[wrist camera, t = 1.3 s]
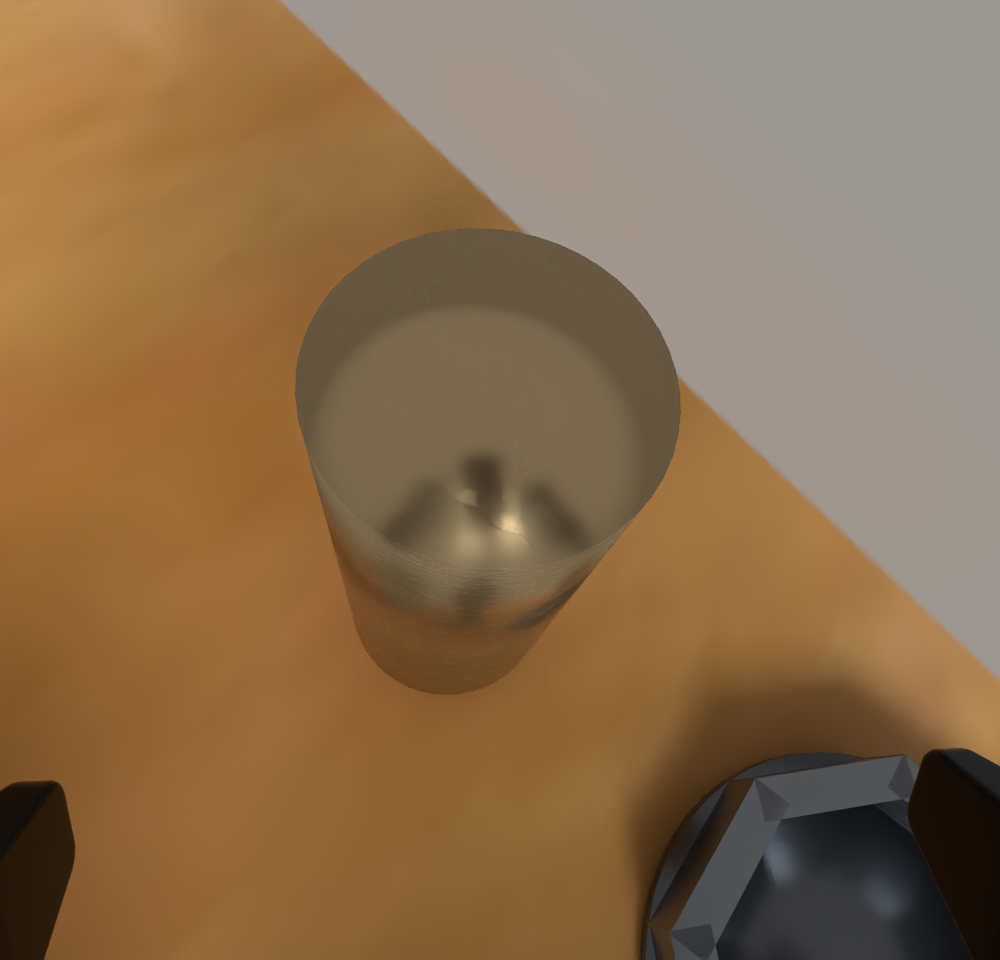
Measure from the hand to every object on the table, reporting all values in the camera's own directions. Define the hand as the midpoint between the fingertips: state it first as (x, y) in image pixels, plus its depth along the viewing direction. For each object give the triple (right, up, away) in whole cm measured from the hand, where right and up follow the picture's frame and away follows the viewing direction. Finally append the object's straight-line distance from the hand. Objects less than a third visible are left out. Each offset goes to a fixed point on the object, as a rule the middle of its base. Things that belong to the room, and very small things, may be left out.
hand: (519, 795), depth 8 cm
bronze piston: (-2, 0, +14) cm, 15 cm away
